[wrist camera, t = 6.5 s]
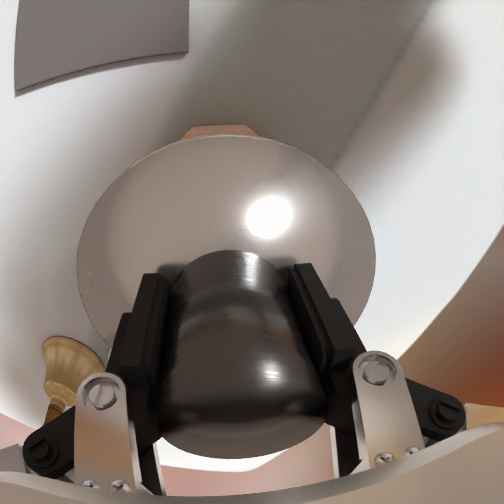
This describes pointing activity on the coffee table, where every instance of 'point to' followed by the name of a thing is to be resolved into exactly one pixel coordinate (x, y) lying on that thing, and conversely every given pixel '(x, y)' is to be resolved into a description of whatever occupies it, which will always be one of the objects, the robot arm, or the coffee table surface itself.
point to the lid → (228, 282)
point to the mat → (93, 34)
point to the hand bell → (66, 372)
